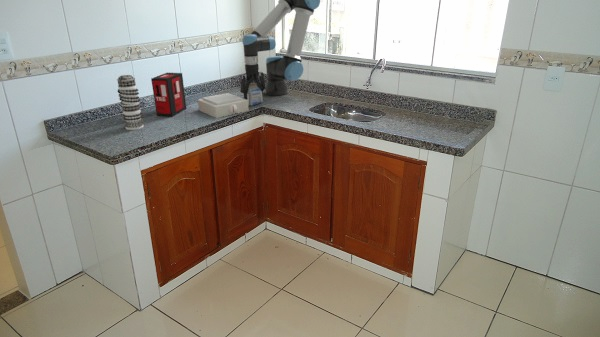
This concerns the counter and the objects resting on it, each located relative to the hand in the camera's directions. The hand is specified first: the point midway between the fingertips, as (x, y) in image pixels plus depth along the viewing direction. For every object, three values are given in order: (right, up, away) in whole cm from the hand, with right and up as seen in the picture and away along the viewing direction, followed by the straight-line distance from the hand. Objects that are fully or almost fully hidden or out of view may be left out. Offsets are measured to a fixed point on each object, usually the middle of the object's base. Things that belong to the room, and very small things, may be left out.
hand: (254, 103), depth 235 cm
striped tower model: (-54, -18, -37) cm, 68 cm away
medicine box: (0, -1, 0) cm, 1 cm away
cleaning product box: (-44, -8, -14) cm, 46 cm away
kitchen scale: (-16, -6, -12) cm, 20 cm away
